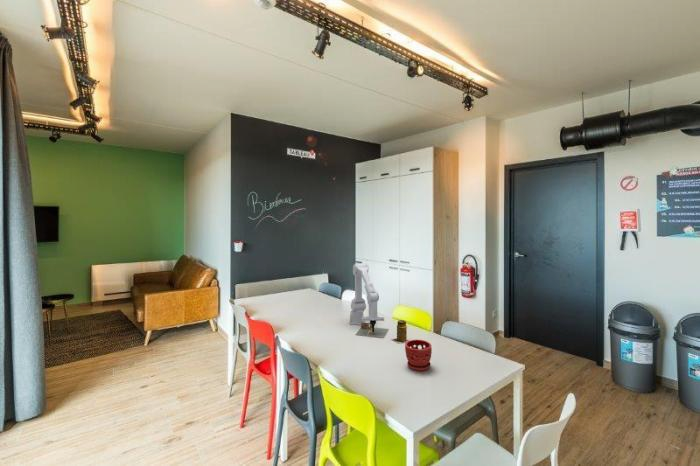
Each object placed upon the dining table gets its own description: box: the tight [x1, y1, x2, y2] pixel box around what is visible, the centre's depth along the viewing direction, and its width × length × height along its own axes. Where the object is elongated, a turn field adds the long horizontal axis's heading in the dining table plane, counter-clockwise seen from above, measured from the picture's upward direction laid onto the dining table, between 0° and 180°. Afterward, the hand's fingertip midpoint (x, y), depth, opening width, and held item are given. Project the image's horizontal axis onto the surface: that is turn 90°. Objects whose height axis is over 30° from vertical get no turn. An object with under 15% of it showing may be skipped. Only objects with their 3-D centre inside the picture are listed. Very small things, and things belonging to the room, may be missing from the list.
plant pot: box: [404, 339, 433, 372], centre depth 164 cm, size 13×13×12 cm
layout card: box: [355, 326, 389, 339], centre depth 214 cm, size 19×17×1 cm
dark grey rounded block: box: [360, 322, 371, 329], centre depth 219 cm, size 8×2×5 cm, turn 72°
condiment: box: [391, 319, 410, 344], centre depth 199 cm, size 7×8×12 cm
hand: (373, 331), depth 210 cm, fingers closed, pressing on fence panel
